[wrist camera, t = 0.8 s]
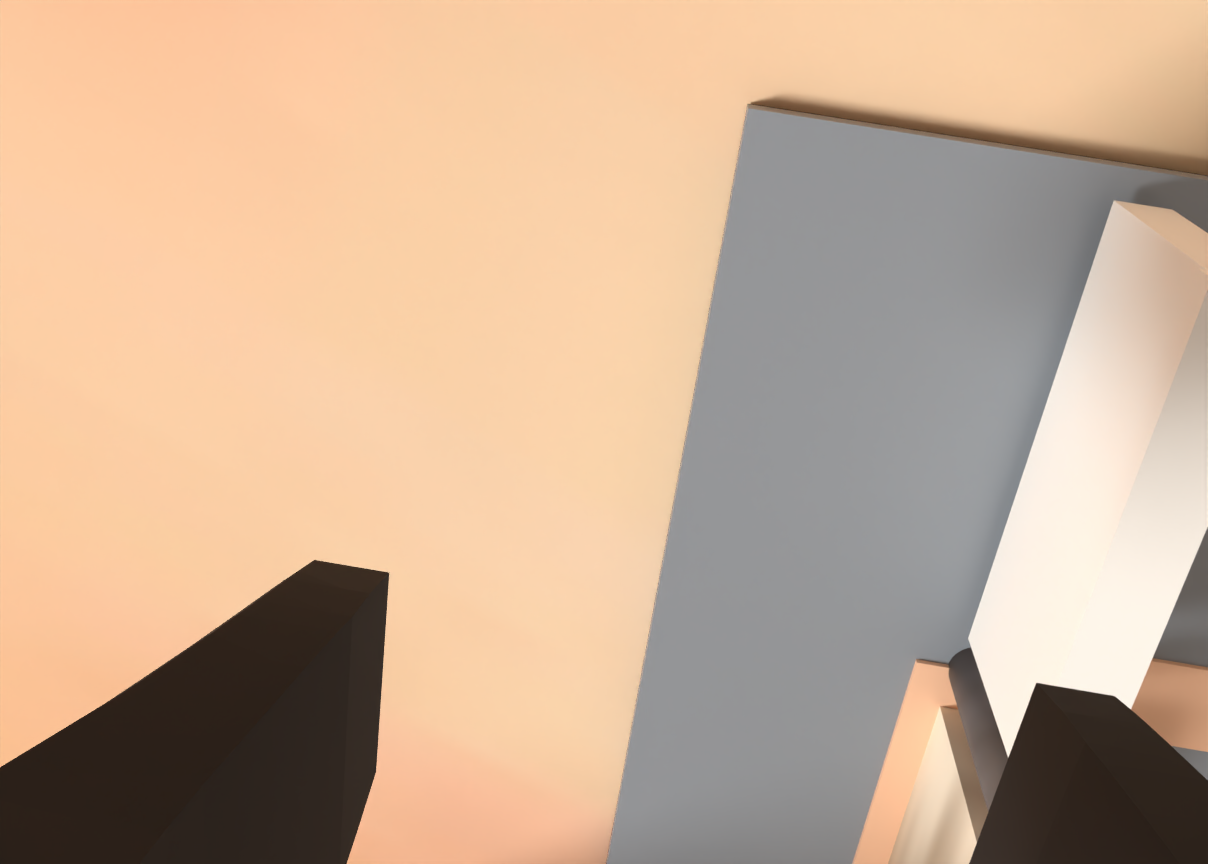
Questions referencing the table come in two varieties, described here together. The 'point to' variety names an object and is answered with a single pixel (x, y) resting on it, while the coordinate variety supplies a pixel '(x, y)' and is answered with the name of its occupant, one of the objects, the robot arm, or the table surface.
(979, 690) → the fixed fence
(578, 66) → the table surface
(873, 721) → the card
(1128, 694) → the fence gate
